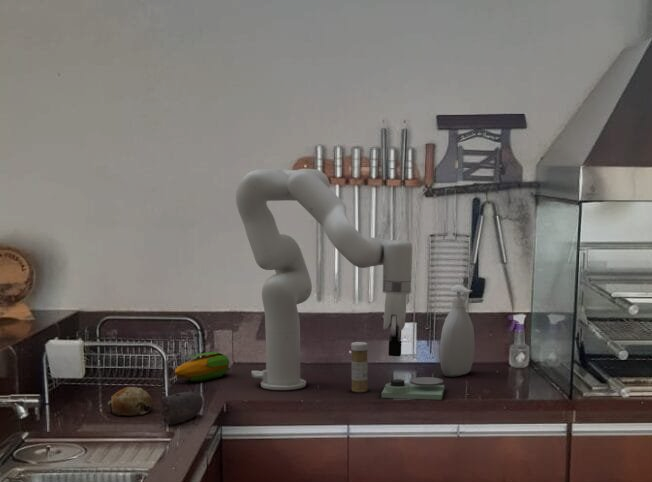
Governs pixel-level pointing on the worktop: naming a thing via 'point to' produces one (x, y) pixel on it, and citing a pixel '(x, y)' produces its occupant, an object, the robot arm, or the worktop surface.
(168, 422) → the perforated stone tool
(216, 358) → the corn
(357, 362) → the sprinkles bottle
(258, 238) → the robot arm
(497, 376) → the worktop surface
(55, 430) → the worktop surface
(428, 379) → the platter
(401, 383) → the power button
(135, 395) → the bread roll
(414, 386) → the scale
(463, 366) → the soap bottle
